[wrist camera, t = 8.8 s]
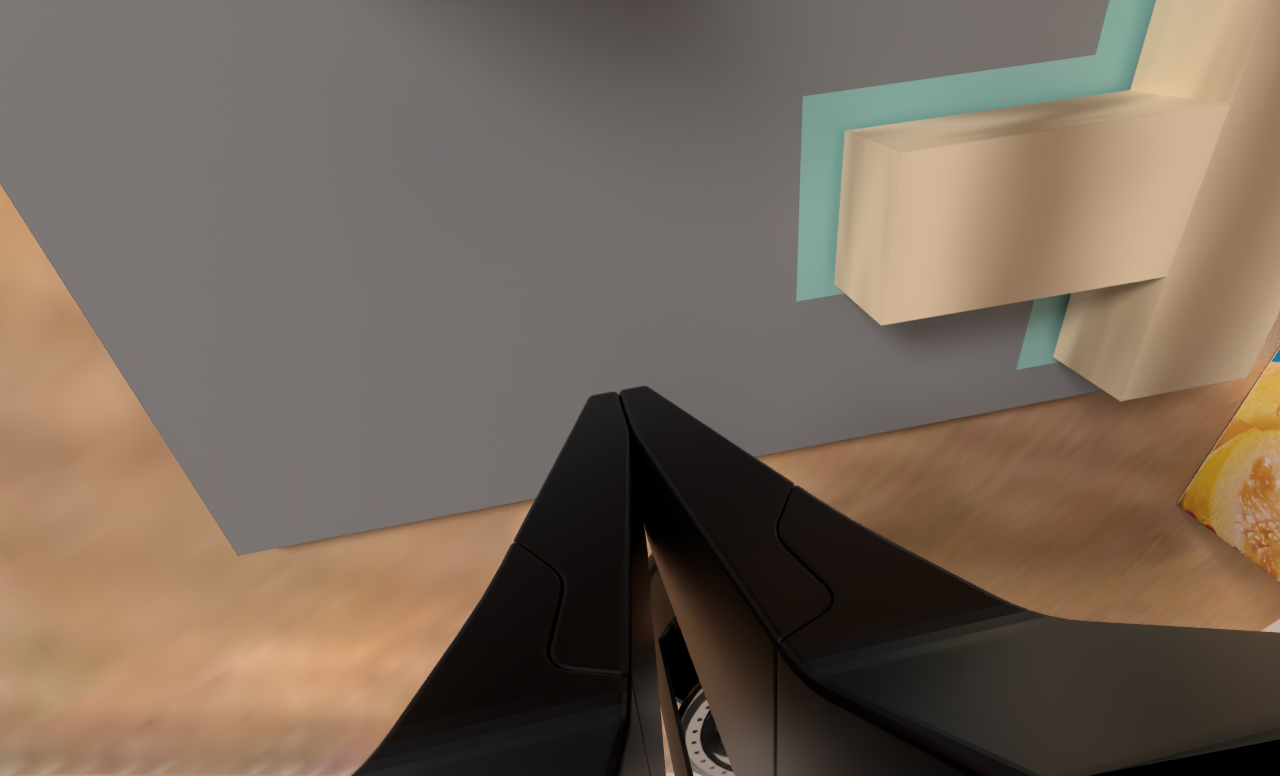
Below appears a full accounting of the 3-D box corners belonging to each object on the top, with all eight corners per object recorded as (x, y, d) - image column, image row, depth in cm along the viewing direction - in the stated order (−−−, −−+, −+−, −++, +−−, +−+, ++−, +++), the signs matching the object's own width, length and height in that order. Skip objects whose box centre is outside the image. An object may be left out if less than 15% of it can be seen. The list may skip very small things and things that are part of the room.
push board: (1415, -256, 16) (1467, -272, 15) (1169, 361, 25) (1191, 374, 25) (-139, -99, 13) (-186, -106, 12) (248, 534, 22) (237, 555, 22)
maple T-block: (1331, -114, 16) (1500, -139, 13) (1159, 332, 23) (1247, 377, 20) (852, -59, 15) (928, -73, 12) (822, 393, 22) (866, 449, 19)
